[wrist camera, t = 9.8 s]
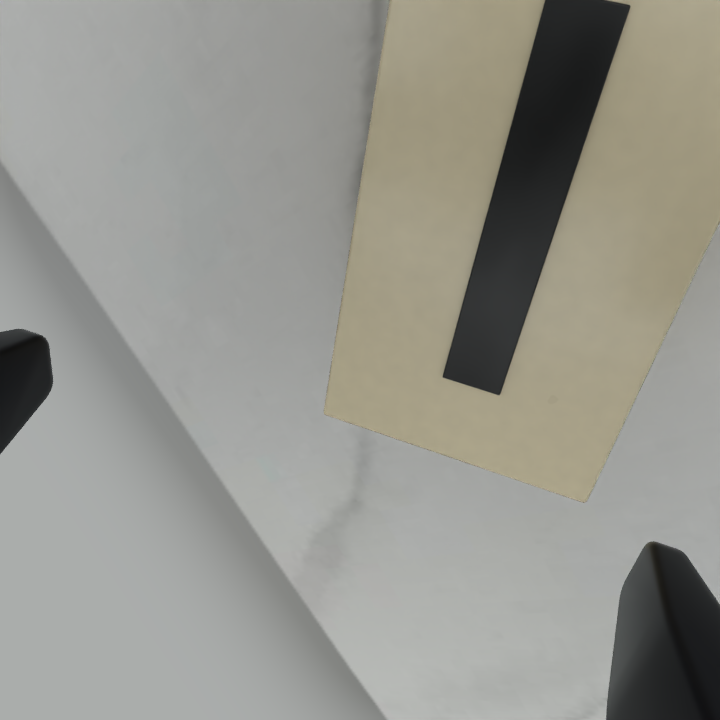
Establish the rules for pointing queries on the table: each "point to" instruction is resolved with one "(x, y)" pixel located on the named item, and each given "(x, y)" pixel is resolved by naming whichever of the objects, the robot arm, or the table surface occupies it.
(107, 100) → the table surface
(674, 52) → the toaster
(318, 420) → the table surface
